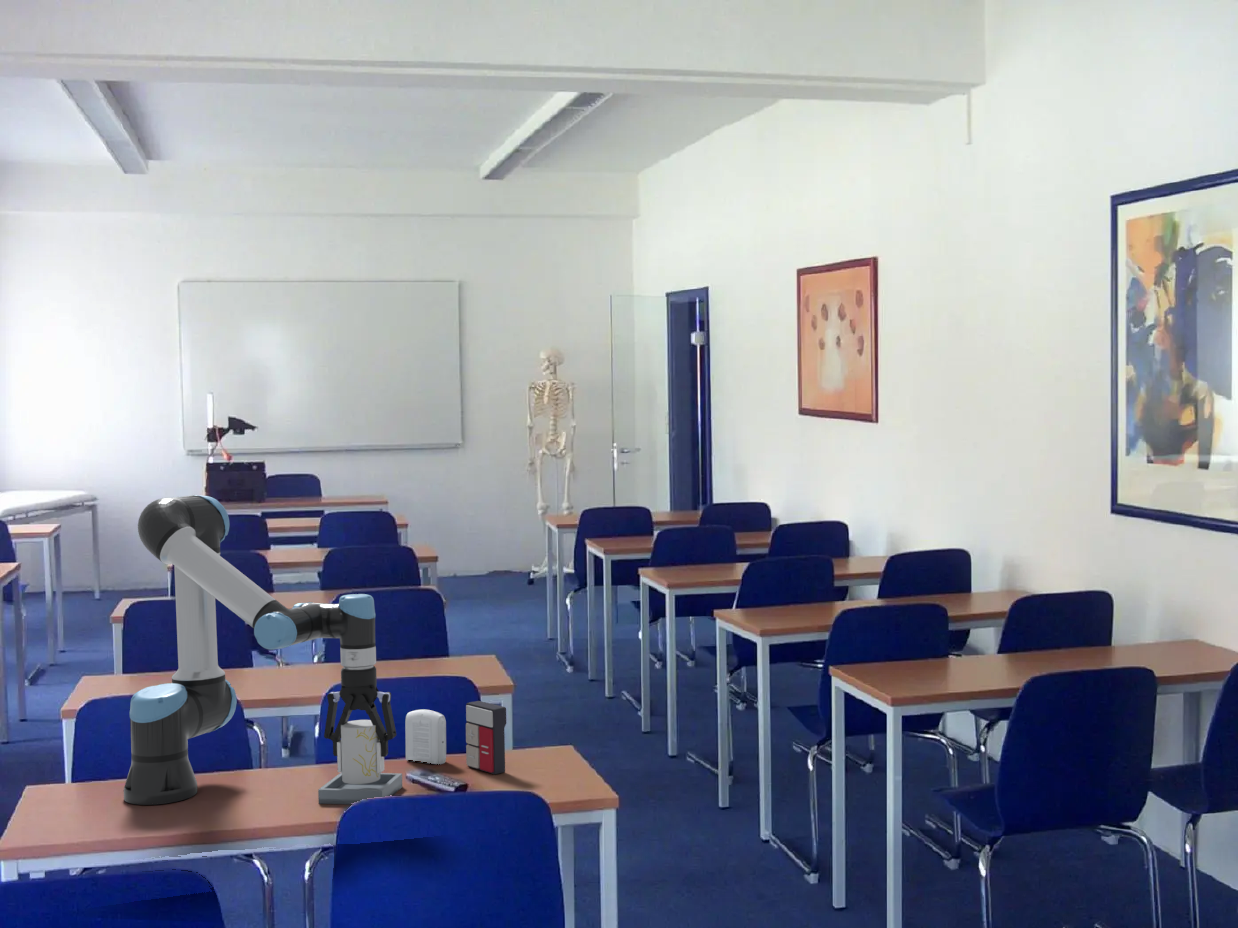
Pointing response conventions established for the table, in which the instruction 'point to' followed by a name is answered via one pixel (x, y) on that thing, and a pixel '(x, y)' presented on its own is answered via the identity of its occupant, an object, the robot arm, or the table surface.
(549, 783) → the table surface
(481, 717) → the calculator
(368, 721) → the cup
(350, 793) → the tray
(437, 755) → the white rounded block
